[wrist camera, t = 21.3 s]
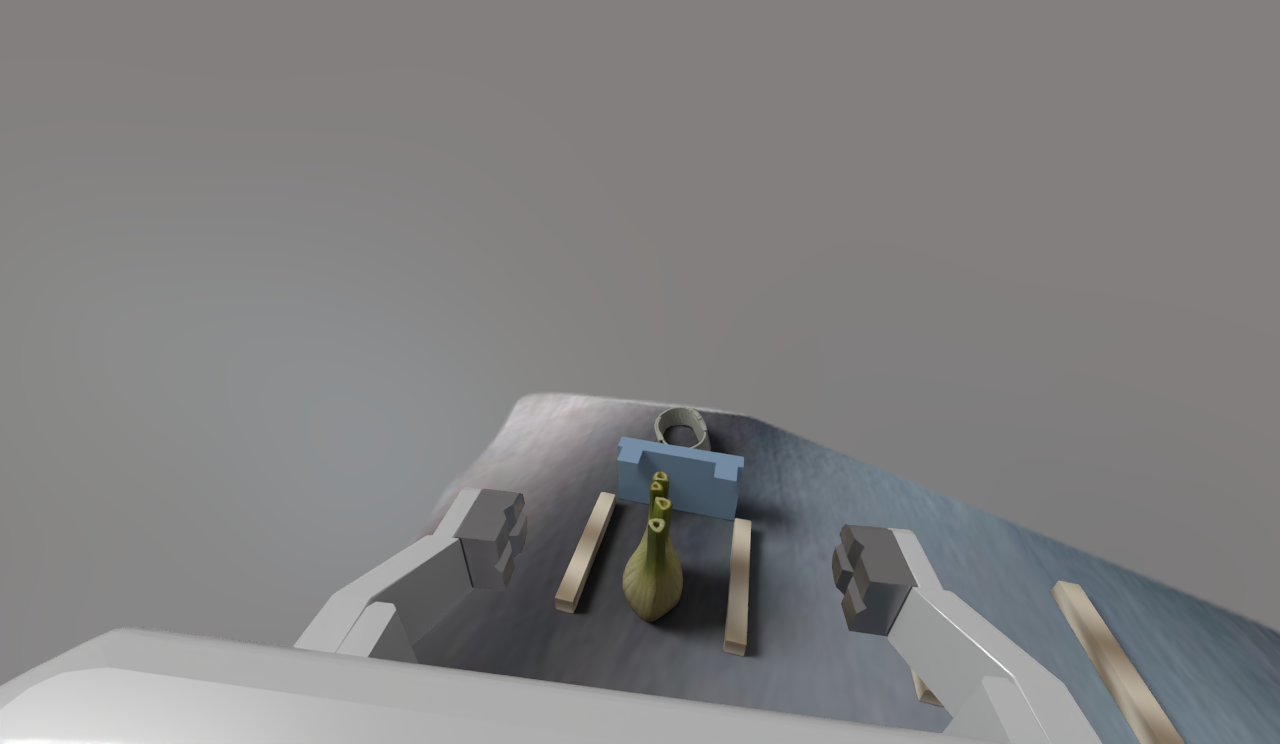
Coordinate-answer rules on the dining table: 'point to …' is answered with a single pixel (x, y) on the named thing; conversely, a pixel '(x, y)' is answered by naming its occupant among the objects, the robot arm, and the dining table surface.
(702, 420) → the wristwatch
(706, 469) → the blue notched panel
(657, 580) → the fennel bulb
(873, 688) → the dining table surface
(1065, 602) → the beige small bars
